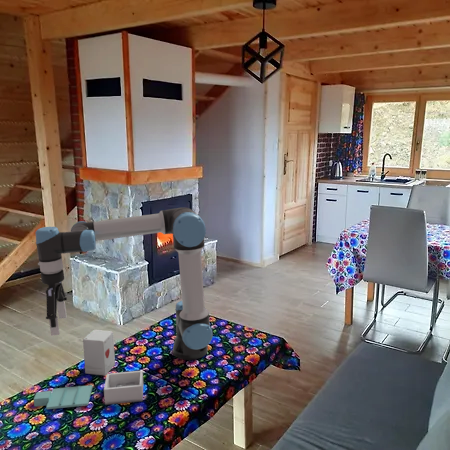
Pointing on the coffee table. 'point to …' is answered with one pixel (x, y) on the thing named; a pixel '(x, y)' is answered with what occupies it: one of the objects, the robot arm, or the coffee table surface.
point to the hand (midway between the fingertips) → (59, 325)
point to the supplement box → (99, 352)
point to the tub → (123, 387)
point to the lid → (64, 397)
